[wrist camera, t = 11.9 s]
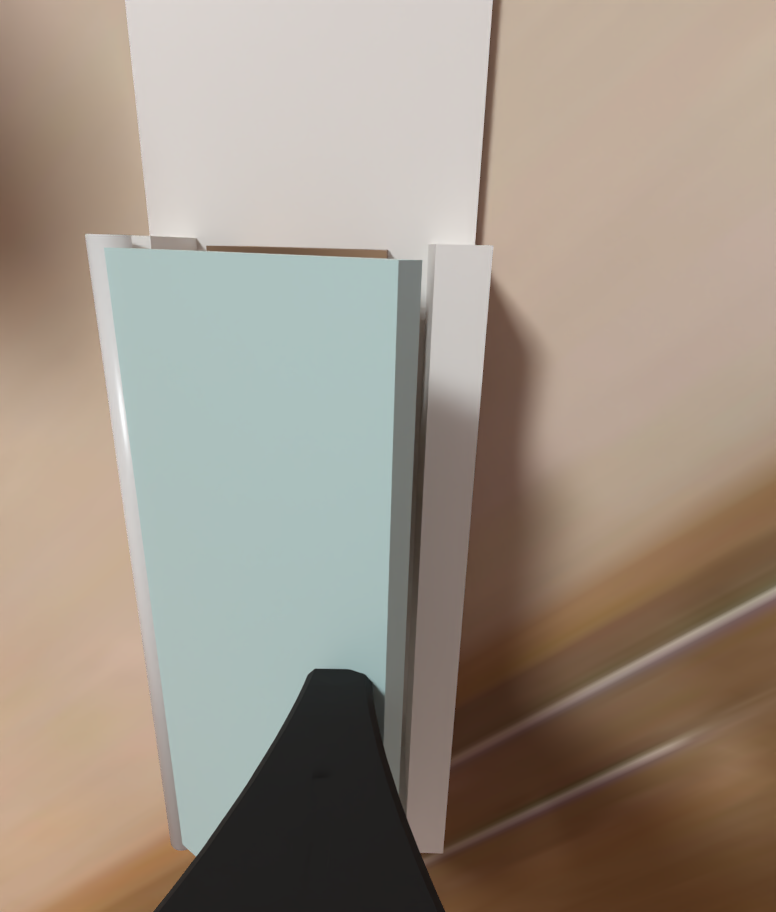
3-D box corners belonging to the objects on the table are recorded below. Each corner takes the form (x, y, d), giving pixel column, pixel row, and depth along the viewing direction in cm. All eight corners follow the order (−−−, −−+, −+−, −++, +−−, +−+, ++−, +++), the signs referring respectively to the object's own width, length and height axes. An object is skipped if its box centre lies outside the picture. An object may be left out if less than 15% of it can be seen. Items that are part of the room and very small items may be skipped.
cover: (428, 242, 7) (393, 240, 6) (392, 992, 12) (371, 1028, 11) (116, 235, 10) (76, 233, 10) (188, 818, 15) (164, 839, 14)
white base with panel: (527, -507, 9) (581, -817, 6) (435, 763, 18) (442, 853, 15) (77, -518, 9) (-52, -832, 6) (208, 757, 18) (176, 845, 15)
